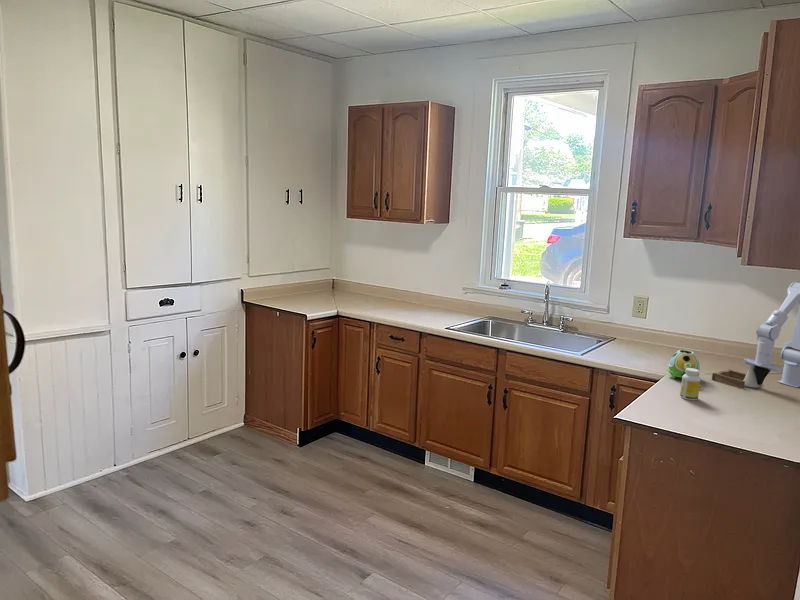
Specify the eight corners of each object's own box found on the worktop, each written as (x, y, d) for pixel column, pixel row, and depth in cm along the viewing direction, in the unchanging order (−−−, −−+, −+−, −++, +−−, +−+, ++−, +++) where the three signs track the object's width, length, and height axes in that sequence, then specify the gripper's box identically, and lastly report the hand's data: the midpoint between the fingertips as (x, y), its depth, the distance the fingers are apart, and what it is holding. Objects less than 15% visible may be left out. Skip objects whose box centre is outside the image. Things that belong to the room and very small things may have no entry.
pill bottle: (701, 400, 229) (705, 372, 227) (686, 401, 228) (690, 372, 226) (690, 395, 236) (694, 367, 234) (676, 395, 235) (679, 367, 232)
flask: (743, 383, 254) (744, 360, 253) (762, 385, 250) (764, 362, 249) (739, 386, 249) (741, 363, 248) (759, 389, 244) (761, 365, 243)
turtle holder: (670, 383, 249) (674, 356, 247) (665, 371, 266) (668, 346, 264) (703, 387, 246) (706, 360, 244) (695, 375, 263) (699, 349, 261)
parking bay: (728, 375, 264) (729, 369, 264) (758, 384, 253) (759, 377, 253) (711, 379, 257) (712, 373, 257) (742, 388, 246) (743, 381, 246)
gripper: (741, 349, 248) (736, 380, 250) (778, 358, 236) (773, 391, 238) (750, 348, 252) (745, 378, 254) (787, 356, 240) (781, 388, 242)
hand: (759, 384), depth 247 cm, fingers closed, pressing on flask
